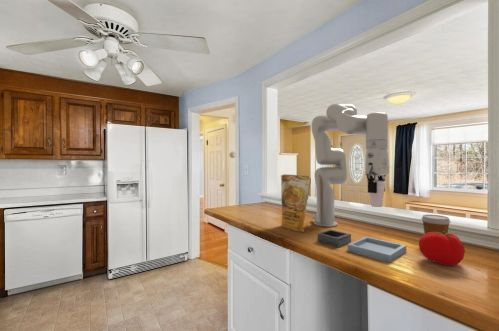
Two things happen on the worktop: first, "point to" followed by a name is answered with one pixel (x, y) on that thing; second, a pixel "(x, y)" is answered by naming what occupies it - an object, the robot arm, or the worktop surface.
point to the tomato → (442, 248)
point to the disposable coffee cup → (435, 223)
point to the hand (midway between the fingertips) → (376, 191)
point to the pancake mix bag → (294, 201)
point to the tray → (377, 248)
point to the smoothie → (378, 194)
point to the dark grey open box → (334, 238)
